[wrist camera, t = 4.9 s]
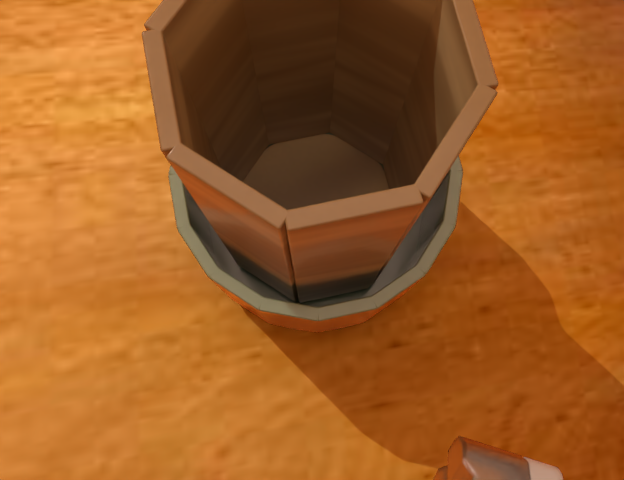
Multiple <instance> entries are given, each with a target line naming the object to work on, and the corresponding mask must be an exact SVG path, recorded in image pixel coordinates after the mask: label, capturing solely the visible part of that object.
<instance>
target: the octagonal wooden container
mask: <svg viewBox="0 0 624 480" xmlns="http://www.w3.org/2000/svg"><path fill="white" fill-rule="evenodd" d="M144 26H145V28H146V30H147V31H143V32H142V39H143V45H144V51H145V57H146V63H147V69H148V75H149V81H150V87H151V93H152V100H153V106H154V112H155V118H156V124H157V130H158V136H159V142H160V148H161V151H162V152H163V154H164V155H165V157H166V158H167V160H168V161H169V163H170V164H171V166H172V167H173V169H174V170H175V172H176V173H177V175H178V176H179V178H180V179H181V181H182V182H183V184H184V185H185V187H186V188H187V190H188V191H189V193H190V194H191V196H192V197H193V199H194V200H195V202H196V203H197V205H198V206H199V208H200V209H201V211H202V212H203V214H204V215H205V217H206V218H207V220H208V221H209V223H210V224H211V226H212V227H213V229H214V230H215V232H216V233H217V235H218V236H219V238H220V239H221V241H222V242H223V244H224V245H225V247H226V248H227V250H228V251H229V253H230V254H231V256H232V257H233V259H234V260H235V262H236V263H237V265H239V266H240V267H242V268H243V269H245V270H246V271H248V272H249V273H251V274H253V275H254V276H256V277H257V278H259V279H260V280H262V281H263V282H265V283H266V284H268V285H269V286H271V287H273V288H274V289H276V290H277V291H279V292H280V293H282V294H283V295H285V296H286V297H288V298H289V299H291V300H292V301H294V302H295V301H296V300H297V299H298V300H299V303H302V302H306V301H311V300H316V299H321V298H325V297H330V296H335V295H339V294H344V293H349V292H354V291H358V290H363V289H368V288H369V286H370V285H373V284H374V283H375V281H376V280H377V278H378V277H379V275H380V274H381V272H382V271H383V269H384V268H385V266H386V265H387V263H388V262H389V260H390V259H391V257H392V256H393V254H394V253H395V251H396V250H397V249H398V247H399V246H400V244H401V243H402V241H403V240H404V238H405V237H406V235H407V234H408V232H409V231H410V229H411V228H412V226H413V225H414V223H415V222H416V220H417V219H418V217H419V216H420V214H421V213H422V211H423V210H424V208H425V207H426V206H427V204H428V203H429V201H430V200H431V198H432V197H433V195H434V193H435V192H436V190H437V189H438V187H439V185H440V184H441V182H442V181H443V179H444V178H445V176H446V174H447V173H448V171H449V170H450V168H451V166H452V165H453V163H454V162H455V160H456V159H457V157H458V155H459V154H460V152H461V151H462V149H463V147H464V146H465V144H466V143H467V141H468V139H469V138H470V136H471V135H472V133H473V132H474V130H475V128H476V127H477V125H478V124H479V122H480V120H481V119H482V117H483V116H484V114H485V113H486V111H487V109H488V108H489V106H490V105H491V103H492V101H493V100H494V98H495V97H496V95H497V91H496V90H495V89H496V88H497V86H498V81H497V77H496V74H495V71H494V68H493V65H492V61H491V58H490V55H489V52H488V48H487V45H486V42H485V39H484V35H483V32H482V29H481V26H480V23H479V19H478V16H477V13H476V10H475V6H474V3H473V0H163V1H162V2H161V4H160V5H159V6H158V7H157V9H156V10H155V11H154V12H153V14H152V15H151V16H150V17H149V19H148V20H147V21H146V22H145V24H144ZM325 133H332V134H333V135H330V134H325ZM334 135H335V136H334ZM274 143H275V144H274ZM269 144H273V145H271V146H269V147H268V148H267V146H268V145H269ZM266 148H267V149H266ZM379 162H380V163H381V164H383V167H384V169H383V167H382V166H381V164H380V163H379Z"/></svg>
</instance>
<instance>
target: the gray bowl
mask: <svg viewBox="0 0 624 480" xmlns="http://www.w3.org/2000/svg"><path fill="white" fill-rule="evenodd" d="M325 134H330V135H333V134H332V133H325ZM334 136H335V135H334ZM274 144H275V143H274ZM271 145H273V144H269V145H268V146H267V148H268V147H269V146H271ZM267 148H266V149H267ZM379 163H380V162H379ZM380 164H381V163H380ZM381 166H382V167H383V164H381ZM383 169H384V167H383ZM462 171H463V169H462V165H461V162H460V158H459V155H458V157H457V159H456V160H455V162H454V163H453V165H452V166H451V168H450V170H449V171H448V173H447V174H446V176H445V178H444V179H443V181H442V182H441V184H440V185H439V187H438V189H437V190H436V192H435V193H434V195H433V197H432V198H431V200H430V201H429V203H428V204H427V206H426V207H425V208H424V210H423V211H422V213H421V214H420V216H419V217H418V219H417V220H416V222H415V223H414V225H413V226H412V228H411V229H410V231H409V232H408V234H407V235H406V237H405V238H404V240H403V241H402V243H401V244H400V246H399V247H398V249H397V250H396V251H395V253H394V254H393V256H392V257H391V259H390V260H389V262H388V263H387V265H386V266H385V268H384V269H383V271H382V272H381V274H380V275H379V277H378V278H377V280H376V281H375V283H374V284H373V285H370V286H369V288H368V289H363V290H358V291H354V292H349V293H344V294H339V295H335V296H330V297H325V298H321V299H316V300H311V301H306V302H302V303H299V300H298V299H297V300H296V301H295V302H294V301H292V300H291V299H289V298H288V297H286V296H285V295H283V294H282V293H280V292H279V291H277V290H276V289H274V288H273V287H271V286H269V285H268V284H266V283H265V282H263V281H262V280H260V279H259V278H257V277H256V276H254V275H253V274H251V273H249V272H248V271H246V270H245V269H243V268H242V267H240V266H239V265H237V263H236V262H235V260H234V259H233V257H232V256H231V254H230V253H229V251H228V250H227V248H226V247H225V245H224V244H223V242H222V241H221V239H220V238H219V236H218V235H217V233H216V232H215V230H214V229H213V227H212V226H211V224H210V223H209V221H208V220H207V218H206V217H205V215H204V214H203V212H202V211H201V209H200V208H199V206H198V205H197V203H196V202H195V200H194V199H193V197H192V196H191V194H190V193H189V191H188V190H187V188H186V187H185V185H184V184H183V182H182V181H181V179H180V178H179V176H178V175H177V173H176V172H175V170H174V169H173V167H172V166H170V170H169V176H168V177H169V183H170V189H171V195H172V201H173V207H174V213H175V219H176V225H177V229H178V232H179V233H180V235H181V236H182V238H183V239H184V241H185V242H186V244H187V246H188V247H189V249H190V250H191V252H192V253H193V255H194V256H195V258H196V259H197V261H198V262H199V264H200V265H201V267H202V268H203V270H204V271H205V273H206V275H207V276H208V277H209V278H210V279H211V280H212V281H213V282H214V283H215V284H216V285H217V286H218V287H219V288H220V289H221V290H222V291H223V292H224V293H226V294H227V295H228V296H229V297H230V298H231V299H232V300H234V301H235V302H237V303H238V304H240V305H241V306H243V307H244V308H246V309H247V310H248V311H250V312H251V313H253V314H255V315H256V316H258V317H259V318H261V319H263V320H264V321H266V322H267V323H270V324H272V325H278V326H282V327H286V328H290V329H294V330H302V331H310V332H315V333H316V332H323V331H328V330H335V329H341V328H344V327H348V326H352V325H356V324H360V323H363V322H366V321H367V320H369V319H370V318H371V317H373V316H374V315H376V314H377V313H379V312H380V311H382V310H383V309H384V308H386V307H387V306H389V305H390V304H391V303H393V302H394V301H396V300H397V299H399V298H400V297H401V296H403V295H404V294H405V293H406V292H407V291H408V290H409V289H411V288H412V287H413V286H414V285H415V284H416V283H417V282H418V281H420V280H421V279H422V278H423V277H424V276H425V275H426V274H427V273H428V271H429V269H430V268H431V266H432V264H433V263H434V261H435V260H436V258H437V256H438V255H439V253H440V251H441V250H442V248H443V247H444V245H445V243H446V242H447V240H448V238H449V237H450V235H451V234H452V232H453V230H454V229H455V226H456V222H457V214H458V207H459V200H460V192H461V185H462V177H463V172H462Z"/></svg>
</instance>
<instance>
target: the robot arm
mask: <svg viewBox="0 0 624 480" xmlns="http://www.w3.org/2000/svg"><path fill="white" fill-rule="evenodd" d="M433 480H563V475H562V473H561V472H560V470H559V468H558V467H555V466H551V465H548V464H545V463H542V462H539V461H536V460H533V459H530V458H527V457H522V456H521V455H518V454H515V453H511V452H508V451H505V450H502V449H499V448H496V447H493V446H489V445H486V444H483V443H480V442H477V441H474V440H471V439H468V438H464V437H461V436H459V437H457V438H456V439H455V440H454V441H453V443H452V445H451V447H450V448H449V450H448V465H447V466H444V467H442V468H439V469H438V470H437V472H436V474H435V476H434V478H433Z"/></svg>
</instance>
